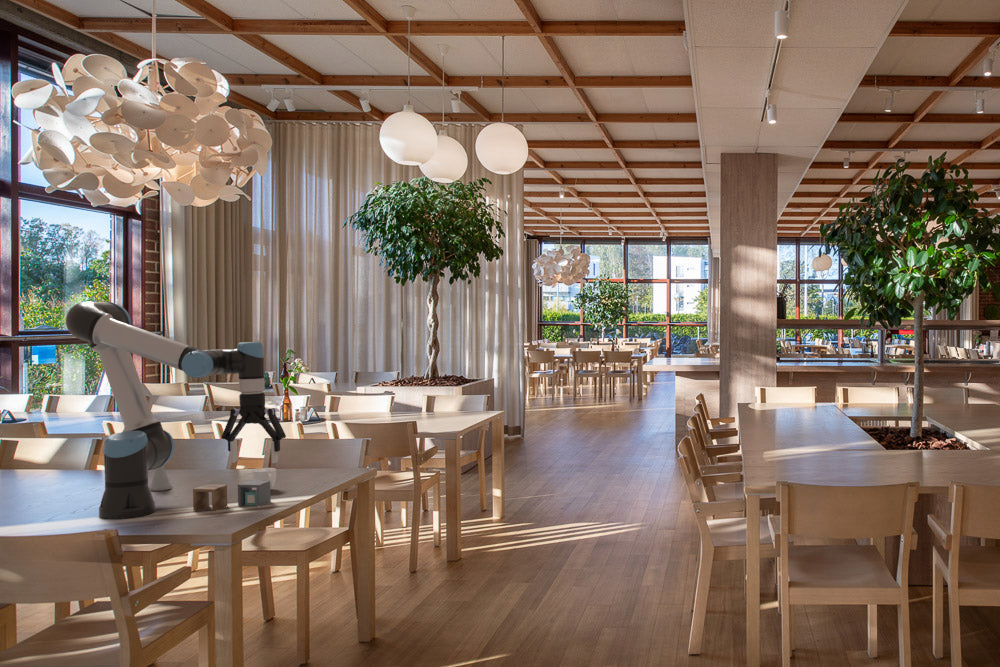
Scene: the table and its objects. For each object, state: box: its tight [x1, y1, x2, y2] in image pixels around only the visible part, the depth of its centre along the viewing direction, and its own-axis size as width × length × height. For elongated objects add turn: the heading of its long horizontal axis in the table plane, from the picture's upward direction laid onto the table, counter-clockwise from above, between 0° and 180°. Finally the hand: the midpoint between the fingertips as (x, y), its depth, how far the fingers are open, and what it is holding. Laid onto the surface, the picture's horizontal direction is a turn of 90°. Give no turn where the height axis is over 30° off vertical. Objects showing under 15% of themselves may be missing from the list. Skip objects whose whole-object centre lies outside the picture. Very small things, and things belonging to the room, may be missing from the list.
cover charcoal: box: [237, 479, 271, 507], centre depth 266 cm, size 7×7×6 cm
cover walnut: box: [192, 483, 228, 512], centre depth 260 cm, size 7×7×6 cm
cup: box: [251, 467, 277, 491], centre depth 287 cm, size 8×10×7 cm
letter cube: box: [244, 489, 257, 506], centre depth 266 cm, size 4×4×4 cm
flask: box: [149, 464, 173, 492], centre depth 292 cm, size 7×7×10 cm
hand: (254, 462), depth 265 cm, fingers open, 13 cm apart
